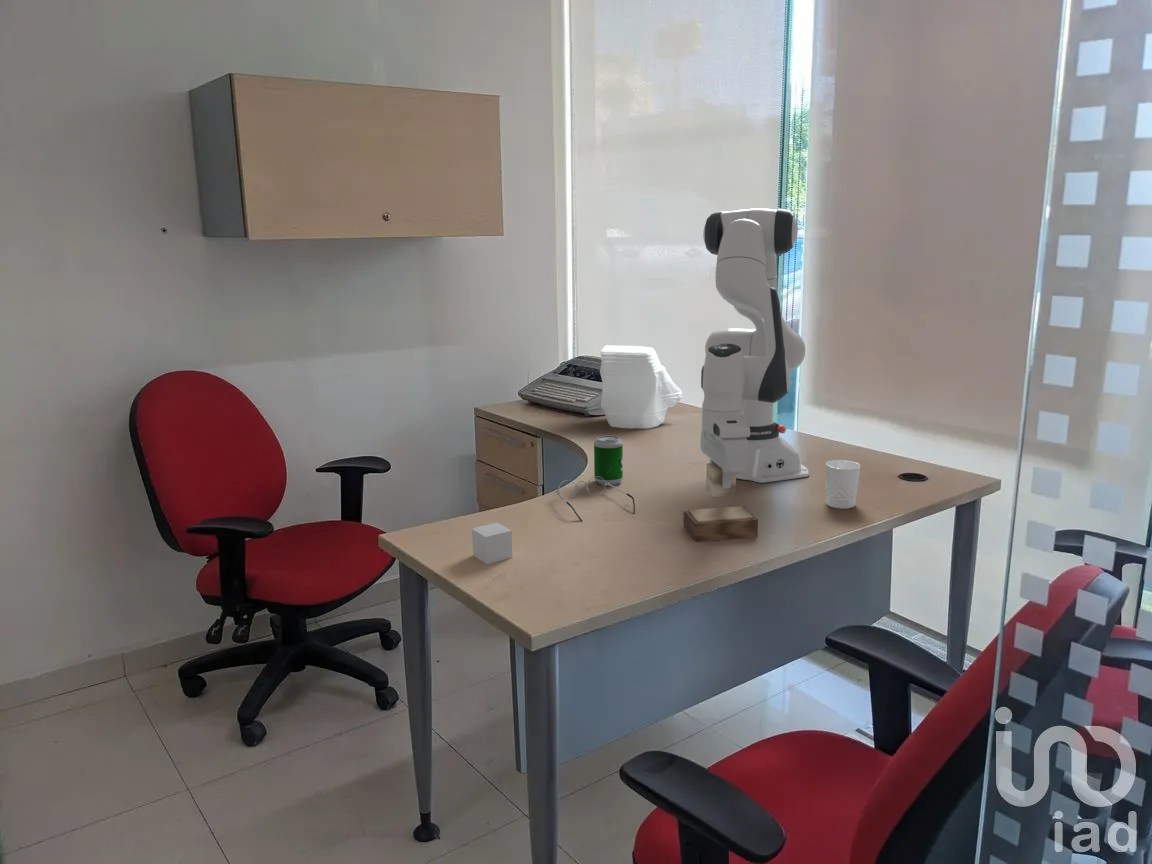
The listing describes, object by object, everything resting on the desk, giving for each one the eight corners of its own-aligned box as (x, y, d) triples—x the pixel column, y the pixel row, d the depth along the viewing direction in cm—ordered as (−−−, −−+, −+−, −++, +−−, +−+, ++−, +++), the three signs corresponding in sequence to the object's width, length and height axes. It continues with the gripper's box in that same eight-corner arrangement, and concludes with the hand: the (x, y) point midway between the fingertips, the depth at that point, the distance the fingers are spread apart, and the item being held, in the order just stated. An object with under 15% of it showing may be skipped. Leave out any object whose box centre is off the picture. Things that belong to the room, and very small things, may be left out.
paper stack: (609, 415, 300) (608, 343, 294) (683, 421, 290) (684, 346, 284) (586, 429, 281) (585, 352, 275) (665, 436, 271) (665, 356, 265)
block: (727, 488, 189) (728, 462, 187) (735, 495, 184) (736, 468, 182) (706, 489, 188) (706, 463, 186) (713, 496, 183) (713, 469, 182)
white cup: (840, 511, 200) (842, 471, 197) (816, 502, 206) (818, 462, 204) (864, 506, 203) (867, 466, 201) (840, 497, 210) (843, 458, 207)
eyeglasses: (610, 492, 218) (609, 473, 217) (640, 515, 201) (640, 494, 200) (550, 500, 213) (550, 481, 212) (576, 524, 196) (576, 503, 195)
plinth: (743, 522, 194) (743, 504, 193) (757, 536, 185) (758, 518, 184) (683, 527, 192) (683, 509, 190) (695, 541, 183) (695, 522, 182)
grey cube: (486, 564, 173) (485, 537, 172) (473, 555, 178) (471, 528, 176) (512, 557, 176) (511, 530, 175) (498, 549, 181) (497, 522, 180)
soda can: (620, 487, 221) (620, 442, 218) (592, 485, 222) (591, 441, 219) (624, 478, 228) (624, 435, 225) (597, 477, 229) (596, 434, 226)
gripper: (694, 411, 192) (693, 470, 195) (723, 432, 172) (721, 498, 175) (721, 410, 193) (719, 469, 196) (753, 431, 173) (751, 496, 176)
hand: (721, 483), depth 185 cm, fingers closed on block, 5 cm apart
